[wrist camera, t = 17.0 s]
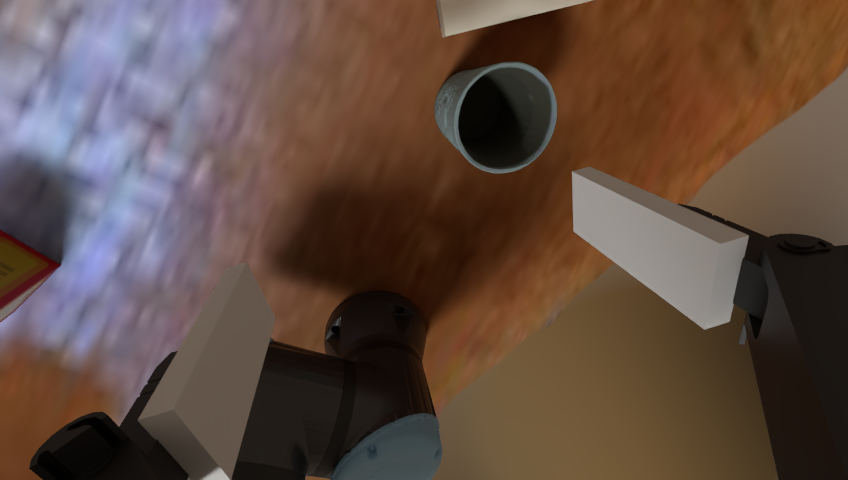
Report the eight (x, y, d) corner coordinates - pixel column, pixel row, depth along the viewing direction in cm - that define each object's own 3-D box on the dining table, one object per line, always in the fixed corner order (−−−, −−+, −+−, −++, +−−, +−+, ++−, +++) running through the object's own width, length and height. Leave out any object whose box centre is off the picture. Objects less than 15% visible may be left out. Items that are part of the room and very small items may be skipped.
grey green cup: (411, 110, 44) (432, 126, 33) (470, 40, 42) (513, 33, 31) (468, 164, 48) (503, 194, 37) (525, 103, 46) (578, 116, 35)
